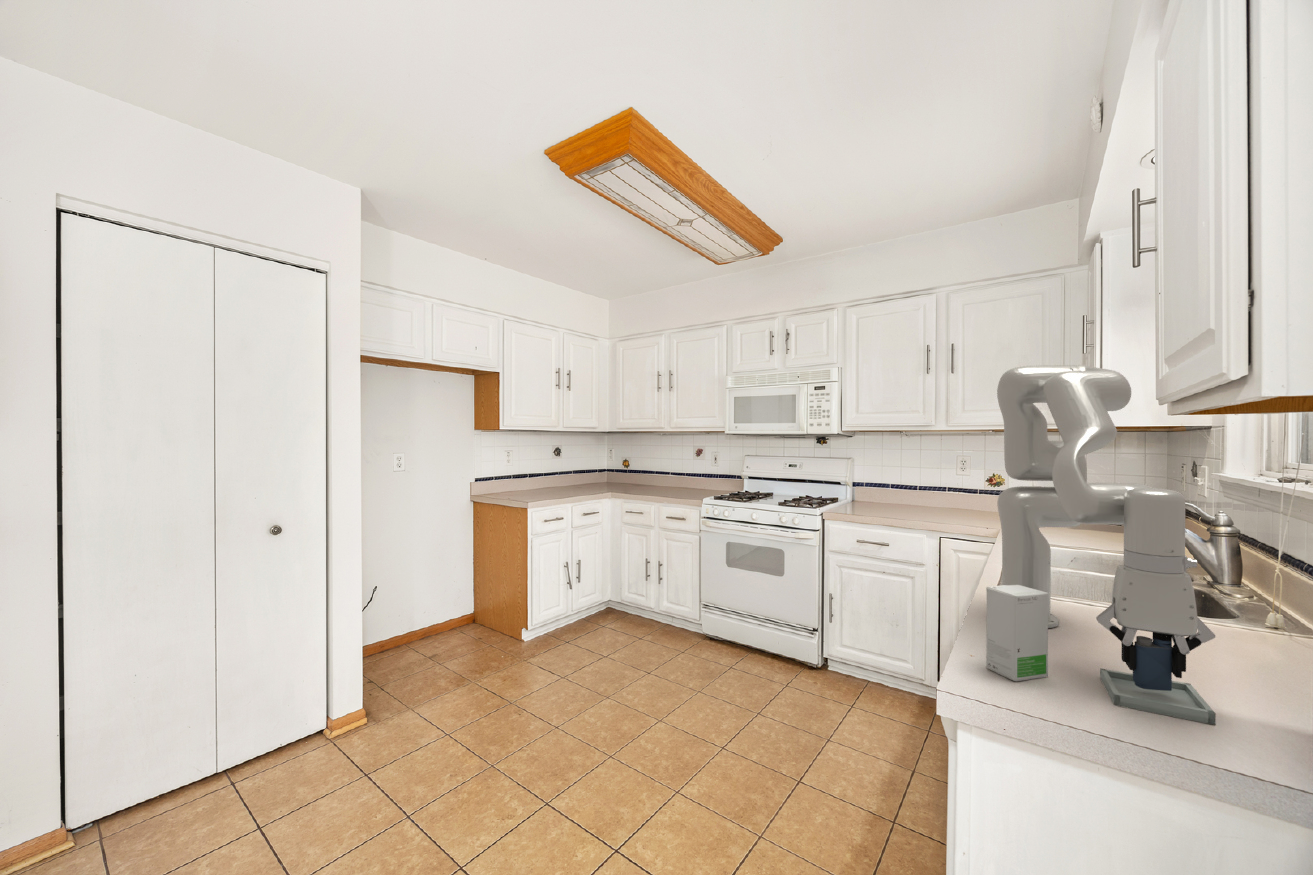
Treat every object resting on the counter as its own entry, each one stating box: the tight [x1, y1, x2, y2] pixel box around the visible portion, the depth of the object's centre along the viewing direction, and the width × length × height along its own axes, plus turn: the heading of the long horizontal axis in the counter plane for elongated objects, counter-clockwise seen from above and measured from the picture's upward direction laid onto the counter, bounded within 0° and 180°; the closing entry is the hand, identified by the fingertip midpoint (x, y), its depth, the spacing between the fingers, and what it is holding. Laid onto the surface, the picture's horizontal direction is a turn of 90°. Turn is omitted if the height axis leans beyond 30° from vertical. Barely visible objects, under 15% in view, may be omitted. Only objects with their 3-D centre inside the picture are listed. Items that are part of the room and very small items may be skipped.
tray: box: [1099, 668, 1217, 726], centre depth 90 cm, size 11×12×2 cm
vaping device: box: [1132, 632, 1173, 691], centre depth 90 cm, size 3×5×12 cm, turn 78°
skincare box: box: [985, 584, 1049, 682], centre depth 100 cm, size 8×7×16 cm
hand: (1152, 669), depth 90 cm, fingers closed on vaping device, 5 cm apart
